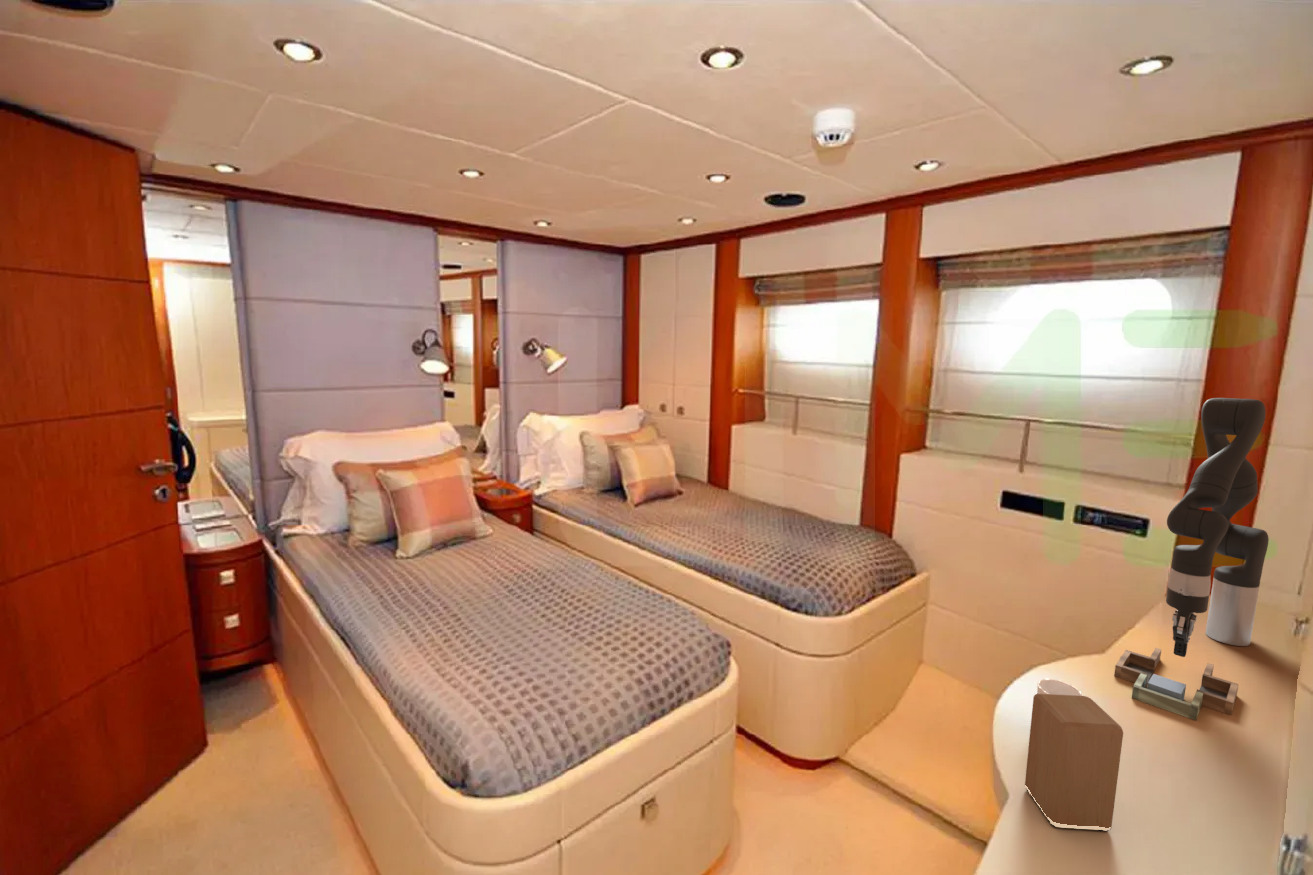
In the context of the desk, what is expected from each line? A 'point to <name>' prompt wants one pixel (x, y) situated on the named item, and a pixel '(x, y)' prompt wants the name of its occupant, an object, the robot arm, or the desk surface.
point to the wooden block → (1073, 760)
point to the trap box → (1210, 695)
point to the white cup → (1056, 688)
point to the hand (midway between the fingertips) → (1179, 654)
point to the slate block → (1167, 687)
